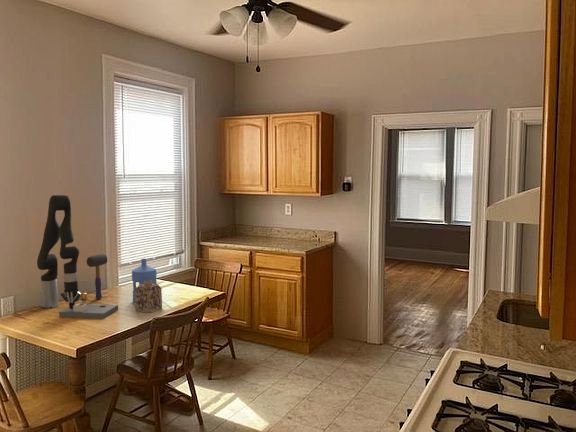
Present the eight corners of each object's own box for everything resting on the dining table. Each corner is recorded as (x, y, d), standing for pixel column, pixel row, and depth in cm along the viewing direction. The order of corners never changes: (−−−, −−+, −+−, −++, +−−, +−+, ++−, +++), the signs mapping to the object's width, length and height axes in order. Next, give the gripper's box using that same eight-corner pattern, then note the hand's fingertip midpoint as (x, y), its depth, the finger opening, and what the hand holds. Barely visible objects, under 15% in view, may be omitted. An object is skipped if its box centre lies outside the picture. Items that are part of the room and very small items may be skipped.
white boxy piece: (73, 311, 298) (73, 305, 298) (77, 309, 303) (77, 303, 303) (82, 311, 297) (82, 305, 297) (87, 309, 302) (87, 303, 302)
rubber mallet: (95, 302, 331) (93, 256, 328) (87, 300, 334) (85, 255, 331) (110, 297, 342) (108, 253, 339) (102, 296, 345) (100, 253, 342)
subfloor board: (59, 316, 298) (58, 311, 298) (75, 308, 316) (75, 303, 315) (103, 318, 294) (103, 313, 294) (118, 309, 312) (118, 305, 312)
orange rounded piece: (79, 306, 309) (78, 293, 308) (83, 304, 313) (82, 292, 312) (85, 306, 308) (84, 294, 307) (89, 305, 312) (88, 292, 311)
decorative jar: (162, 308, 314) (161, 280, 312) (149, 313, 304) (148, 284, 302) (148, 306, 319) (147, 278, 318) (134, 311, 309) (133, 282, 307)
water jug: (154, 296, 343) (153, 256, 340) (159, 302, 329) (158, 260, 326) (131, 299, 336) (129, 258, 334) (134, 305, 322) (133, 262, 320)
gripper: (56, 281, 296) (58, 310, 298) (77, 281, 294) (79, 310, 296) (64, 278, 303) (65, 306, 305) (84, 279, 302) (85, 307, 303)
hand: (72, 308), depth 300 cm, fingers closed
